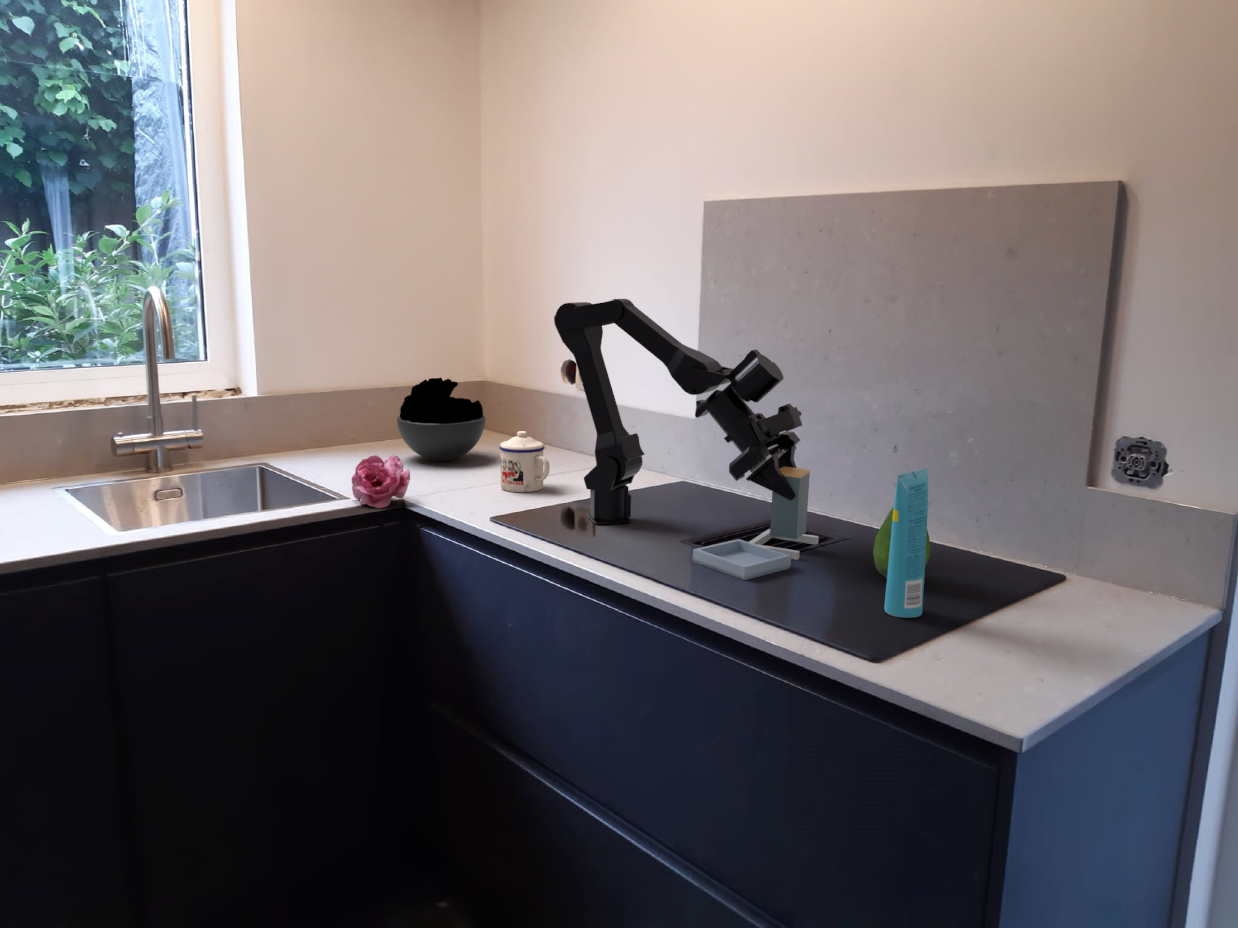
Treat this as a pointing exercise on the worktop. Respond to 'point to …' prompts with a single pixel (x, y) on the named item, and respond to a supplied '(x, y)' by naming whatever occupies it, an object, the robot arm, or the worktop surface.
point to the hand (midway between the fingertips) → (798, 495)
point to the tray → (741, 559)
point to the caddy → (791, 505)
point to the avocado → (883, 545)
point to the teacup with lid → (523, 464)
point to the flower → (380, 480)
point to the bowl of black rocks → (440, 421)
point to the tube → (908, 546)
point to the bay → (794, 554)
